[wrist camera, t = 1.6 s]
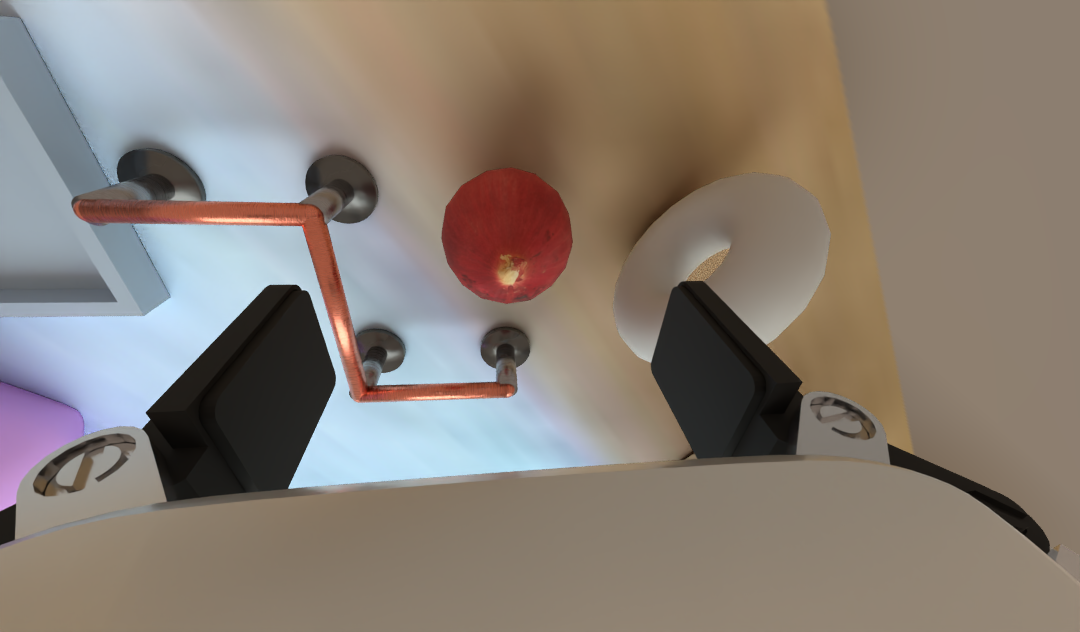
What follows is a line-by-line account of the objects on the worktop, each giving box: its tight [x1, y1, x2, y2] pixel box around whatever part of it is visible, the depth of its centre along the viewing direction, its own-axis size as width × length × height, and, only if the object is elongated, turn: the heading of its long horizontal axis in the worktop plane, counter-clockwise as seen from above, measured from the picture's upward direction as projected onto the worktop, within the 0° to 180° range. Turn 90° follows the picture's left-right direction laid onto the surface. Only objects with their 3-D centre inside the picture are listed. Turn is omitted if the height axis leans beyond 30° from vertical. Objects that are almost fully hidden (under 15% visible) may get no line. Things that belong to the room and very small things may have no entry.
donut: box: [613, 172, 831, 363], centre depth 18 cm, size 10×4×10 cm, turn 140°
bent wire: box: [71, 148, 530, 403], centre depth 20 cm, size 13×19×4 cm
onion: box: [442, 168, 573, 304], centre depth 17 cm, size 6×6×8 cm
